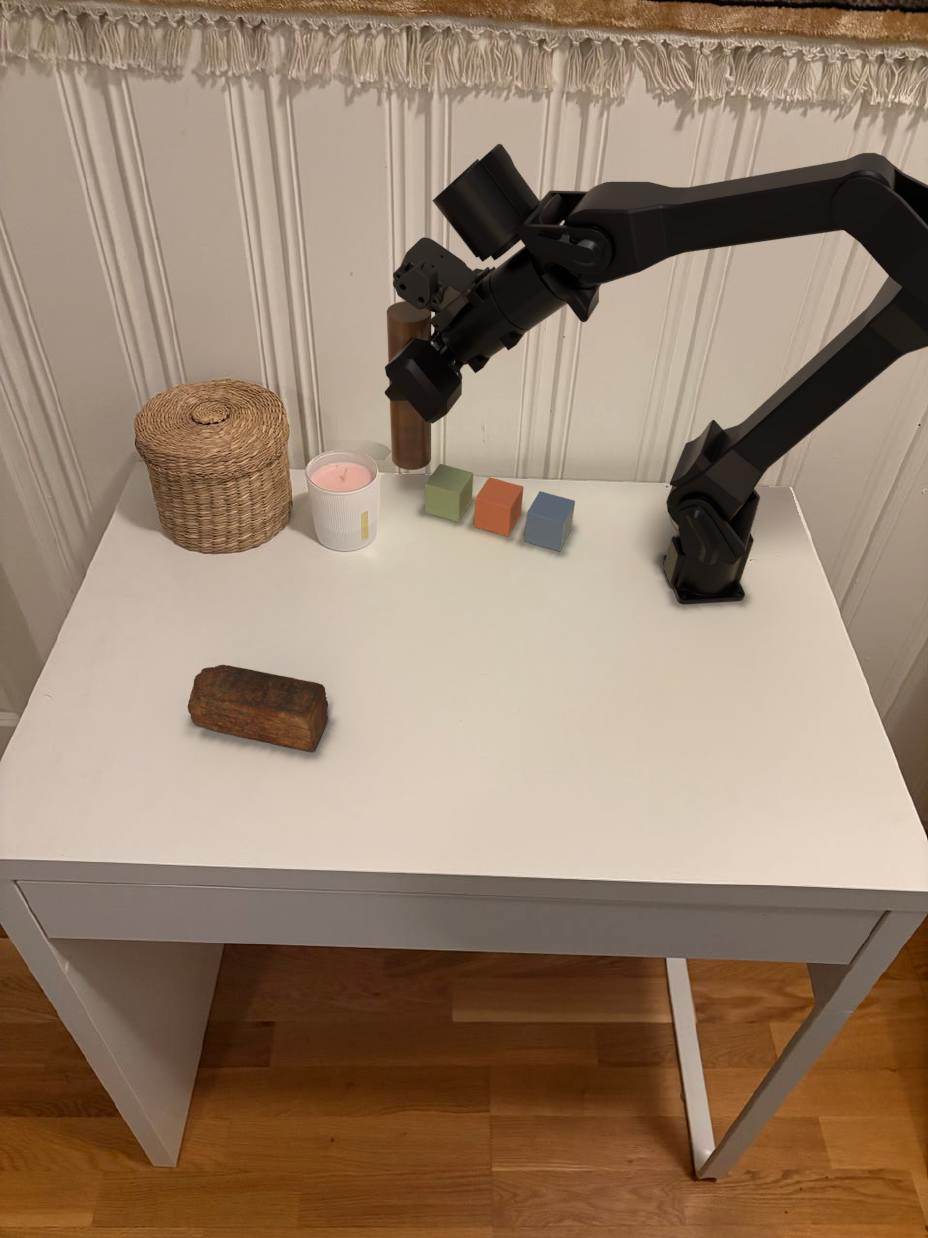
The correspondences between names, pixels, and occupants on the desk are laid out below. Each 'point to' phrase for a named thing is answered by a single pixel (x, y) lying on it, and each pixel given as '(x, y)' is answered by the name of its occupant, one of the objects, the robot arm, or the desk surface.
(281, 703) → the brick
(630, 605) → the desk surface
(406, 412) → the walnut cylinder
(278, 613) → the desk surface
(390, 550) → the desk surface
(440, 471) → the colored block line
